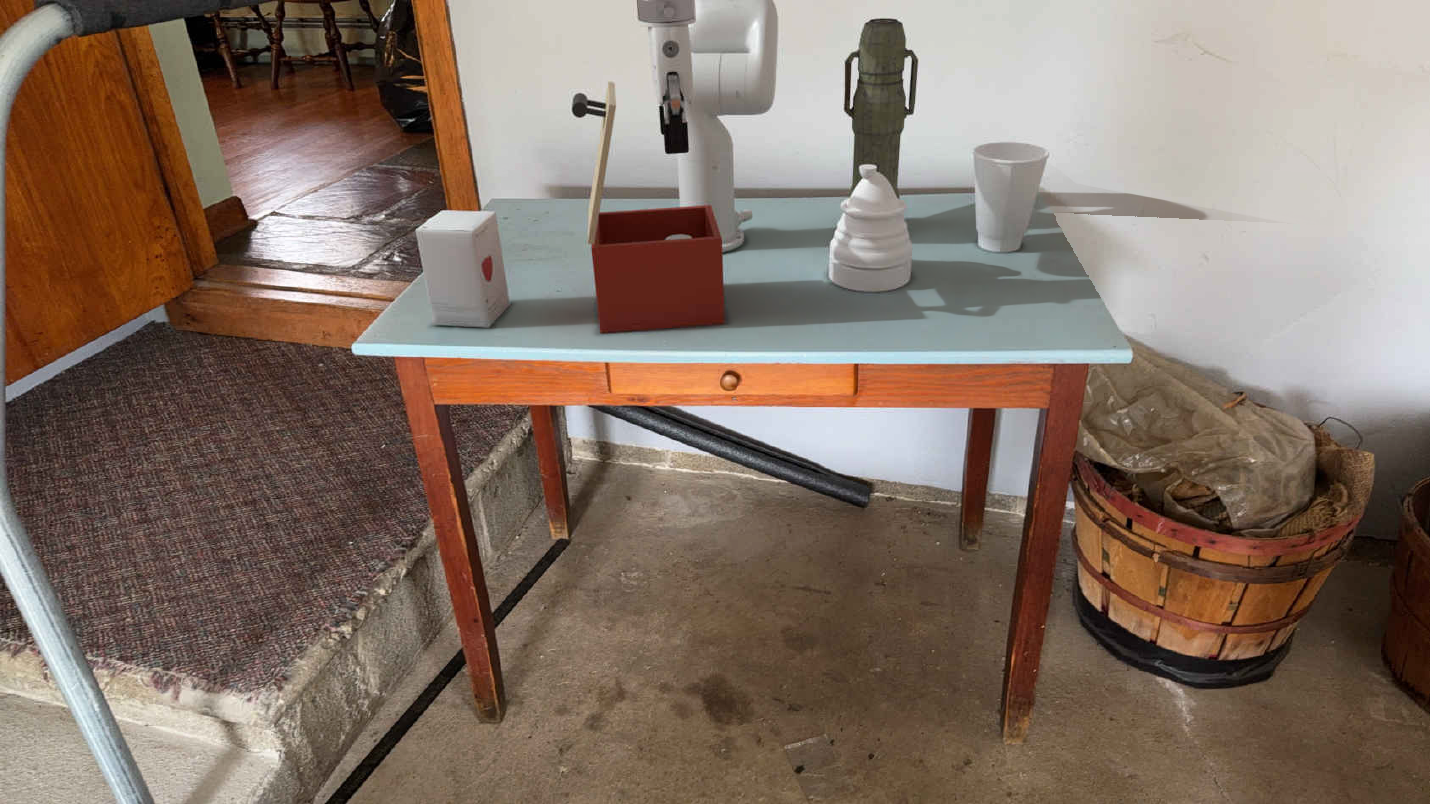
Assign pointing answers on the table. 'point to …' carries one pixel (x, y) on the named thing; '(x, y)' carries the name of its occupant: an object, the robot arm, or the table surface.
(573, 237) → the table surface
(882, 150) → the olive green vase
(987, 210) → the cup
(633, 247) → the red open box
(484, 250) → the rectangular carton
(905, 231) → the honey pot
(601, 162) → the lid
